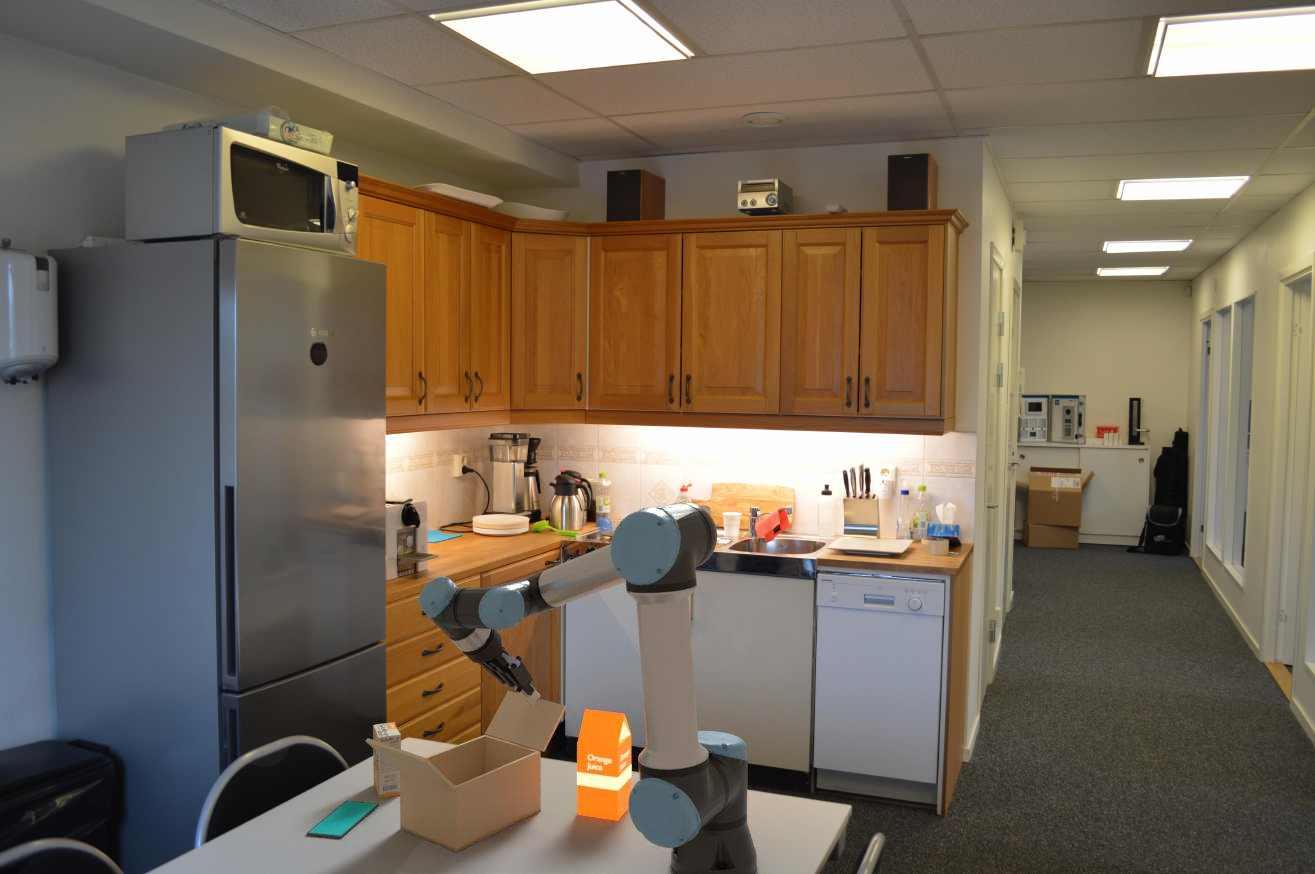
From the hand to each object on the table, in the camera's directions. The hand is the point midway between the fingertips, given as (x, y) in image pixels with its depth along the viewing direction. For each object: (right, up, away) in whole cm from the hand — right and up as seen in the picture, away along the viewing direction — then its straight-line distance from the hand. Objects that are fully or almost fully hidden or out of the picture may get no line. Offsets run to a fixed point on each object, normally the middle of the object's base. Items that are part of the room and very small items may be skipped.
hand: (534, 699), depth 196 cm
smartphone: (-36, -20, -14) cm, 43 cm away
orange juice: (+15, -20, -9) cm, 26 cm away
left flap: (-19, -4, -26) cm, 33 cm away
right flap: (-2, -3, -2) cm, 5 cm away
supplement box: (-31, -19, 0) cm, 37 cm away
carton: (-11, -20, -14) cm, 26 cm away
